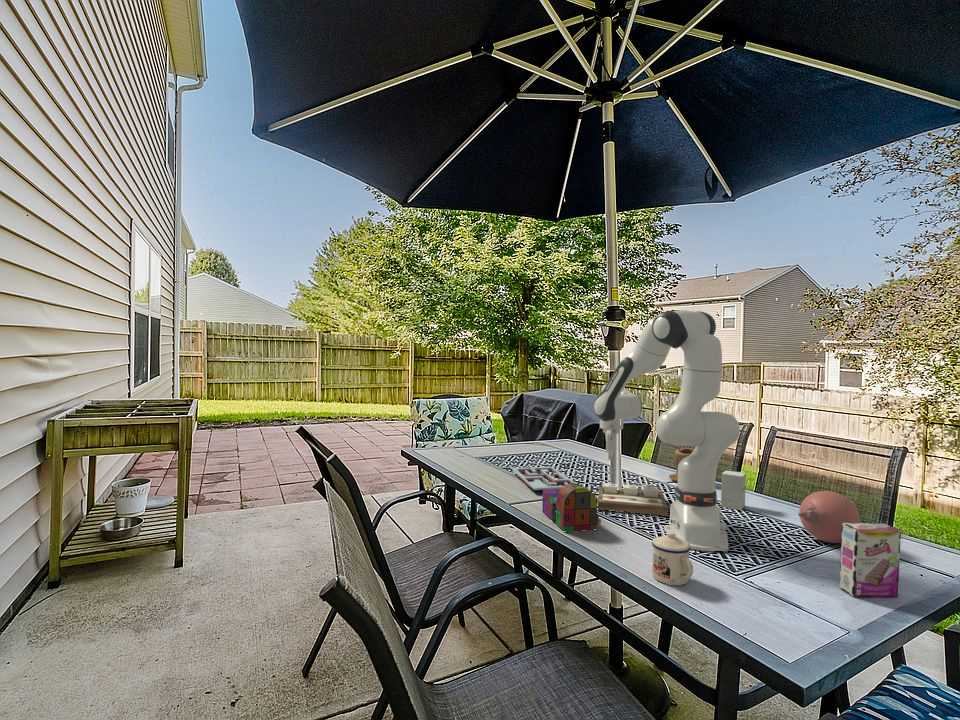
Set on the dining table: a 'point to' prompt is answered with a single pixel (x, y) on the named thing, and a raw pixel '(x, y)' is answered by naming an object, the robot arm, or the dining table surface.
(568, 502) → the block puzzle
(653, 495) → the right button
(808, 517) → the red onion
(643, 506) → the button board
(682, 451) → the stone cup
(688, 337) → the robot arm
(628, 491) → the middle button
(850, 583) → the candy bar box
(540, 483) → the maze game
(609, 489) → the left button
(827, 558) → the dining table surface
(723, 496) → the supplement box
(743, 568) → the dining table surface
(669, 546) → the teacup with lid
